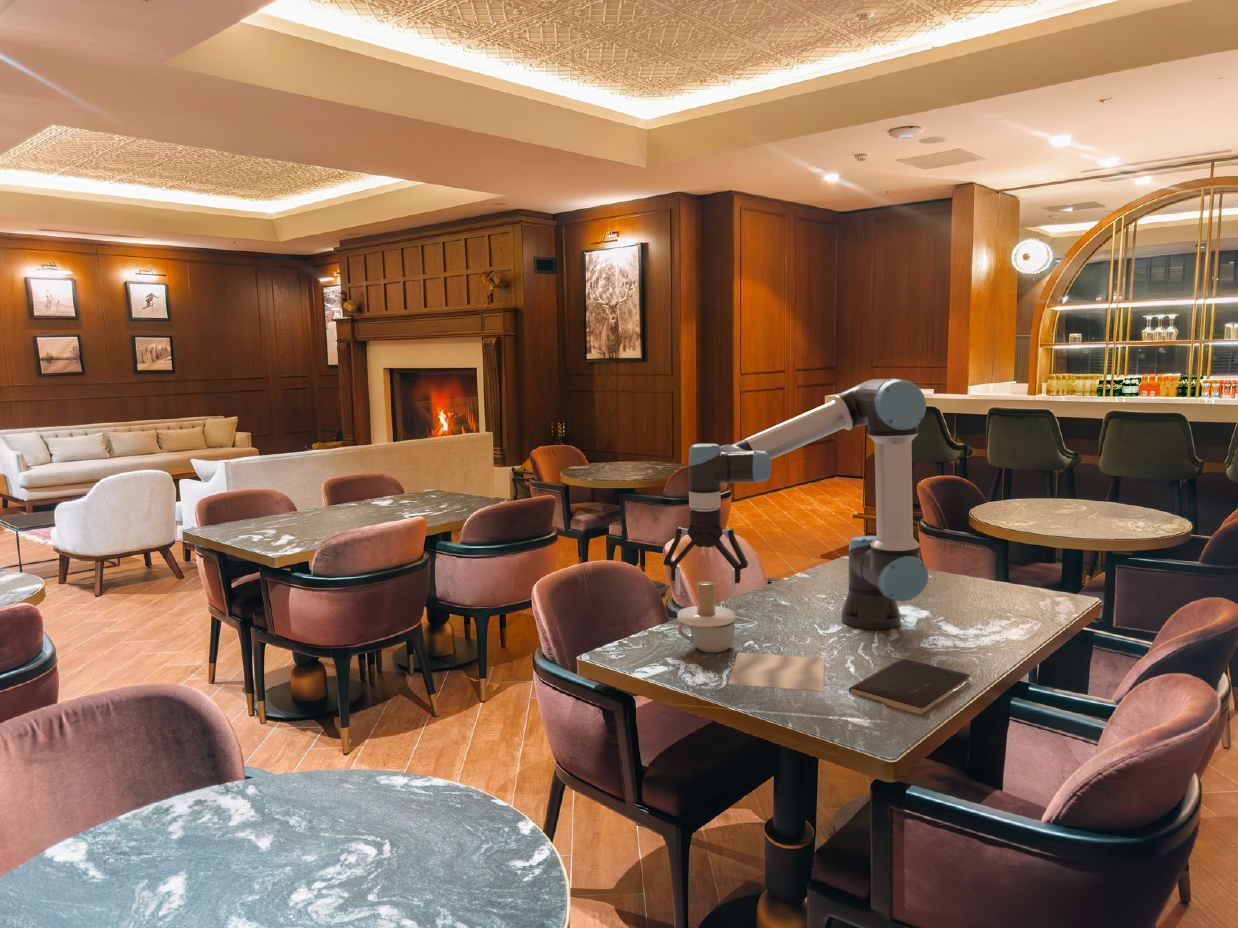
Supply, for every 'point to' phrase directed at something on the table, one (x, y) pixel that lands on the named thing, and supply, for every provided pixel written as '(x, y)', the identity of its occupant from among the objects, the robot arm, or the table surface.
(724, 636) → the teacup
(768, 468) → the robot arm
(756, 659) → the mat
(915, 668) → the hardcover book
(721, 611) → the lid
